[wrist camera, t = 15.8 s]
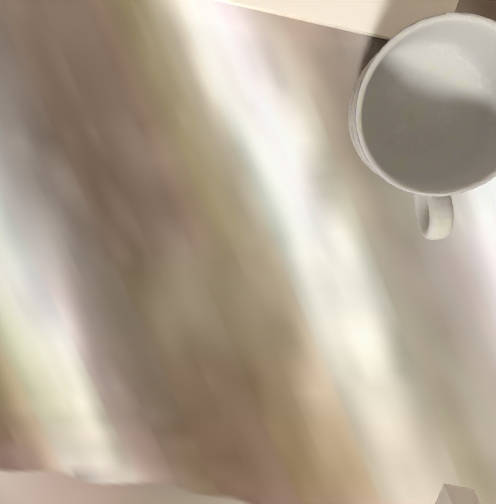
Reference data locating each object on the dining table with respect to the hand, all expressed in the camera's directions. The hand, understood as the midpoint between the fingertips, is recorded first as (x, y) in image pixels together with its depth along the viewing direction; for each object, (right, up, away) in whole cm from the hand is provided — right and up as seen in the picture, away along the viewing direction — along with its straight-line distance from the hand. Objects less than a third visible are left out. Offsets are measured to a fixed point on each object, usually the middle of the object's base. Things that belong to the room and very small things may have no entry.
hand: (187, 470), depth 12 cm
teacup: (+15, +15, +23) cm, 31 cm away
